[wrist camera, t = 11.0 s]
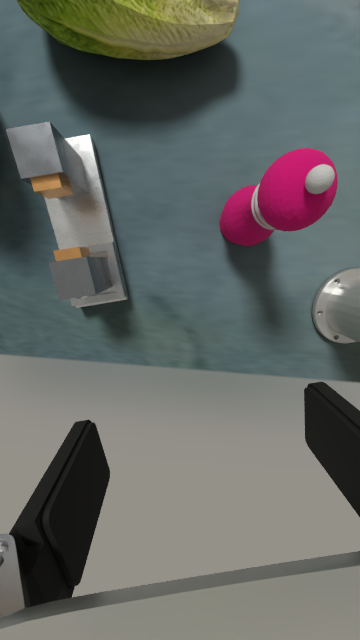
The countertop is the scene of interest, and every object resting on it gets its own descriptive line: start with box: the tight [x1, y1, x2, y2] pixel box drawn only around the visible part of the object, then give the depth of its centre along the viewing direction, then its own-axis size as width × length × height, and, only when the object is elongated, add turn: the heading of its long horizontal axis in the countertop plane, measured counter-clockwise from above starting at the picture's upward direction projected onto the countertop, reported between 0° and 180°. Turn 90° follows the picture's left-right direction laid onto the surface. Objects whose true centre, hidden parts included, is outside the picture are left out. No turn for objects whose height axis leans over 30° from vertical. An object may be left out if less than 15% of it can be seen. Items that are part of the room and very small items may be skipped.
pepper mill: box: [220, 148, 337, 246], centre depth 25 cm, size 7×7×20 cm
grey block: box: [48, 247, 113, 300], centre depth 30 cm, size 6×4×8 cm
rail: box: [6, 122, 129, 308], centre depth 29 cm, size 8×22×10 cm, turn 9°
